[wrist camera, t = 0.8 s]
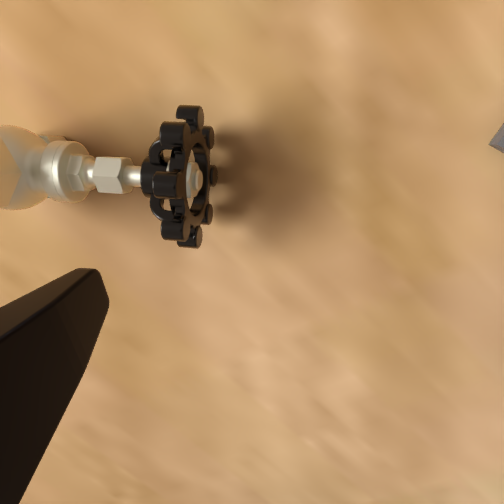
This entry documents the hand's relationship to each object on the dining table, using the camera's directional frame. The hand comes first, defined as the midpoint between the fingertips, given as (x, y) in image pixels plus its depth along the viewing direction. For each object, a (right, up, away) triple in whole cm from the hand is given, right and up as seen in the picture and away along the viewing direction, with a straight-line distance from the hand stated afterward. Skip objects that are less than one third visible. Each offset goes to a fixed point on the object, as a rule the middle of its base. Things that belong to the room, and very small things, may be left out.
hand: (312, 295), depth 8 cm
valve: (-9, +6, +15) cm, 19 cm away
